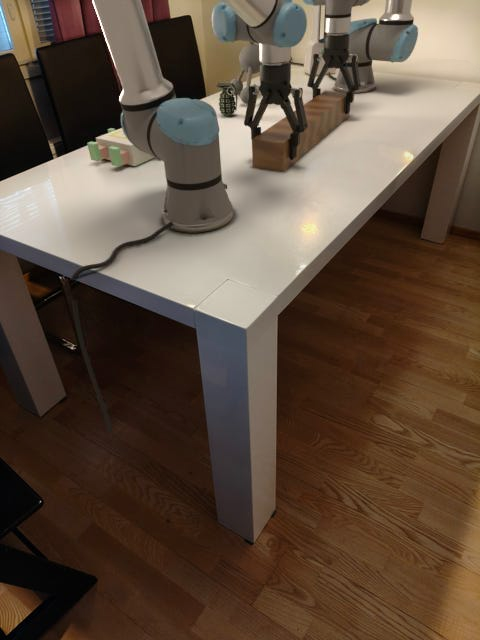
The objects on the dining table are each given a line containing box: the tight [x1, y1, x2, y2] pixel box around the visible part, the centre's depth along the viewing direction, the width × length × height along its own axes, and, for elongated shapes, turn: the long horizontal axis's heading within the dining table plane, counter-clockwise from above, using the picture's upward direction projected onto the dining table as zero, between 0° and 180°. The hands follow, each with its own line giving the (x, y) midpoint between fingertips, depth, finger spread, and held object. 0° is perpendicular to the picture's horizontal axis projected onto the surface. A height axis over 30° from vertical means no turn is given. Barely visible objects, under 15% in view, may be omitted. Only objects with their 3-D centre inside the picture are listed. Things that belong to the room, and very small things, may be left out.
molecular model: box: [229, 42, 262, 105], centre depth 179 cm, size 24×22×30 cm
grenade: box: [215, 82, 238, 117], centre depth 166 cm, size 7×6×10 cm
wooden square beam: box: [251, 90, 350, 173], centre depth 144 cm, size 53×9×8 cm, turn 152°
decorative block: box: [86, 127, 156, 168], centre depth 141 cm, size 26×6×20 cm
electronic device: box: [303, 5, 337, 76], centre depth 205 cm, size 12×8×30 cm, turn 105°
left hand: (275, 155), depth 130 cm, fingers open, 10 cm apart
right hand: (332, 111), depth 160 cm, fingers open, 10 cm apart
